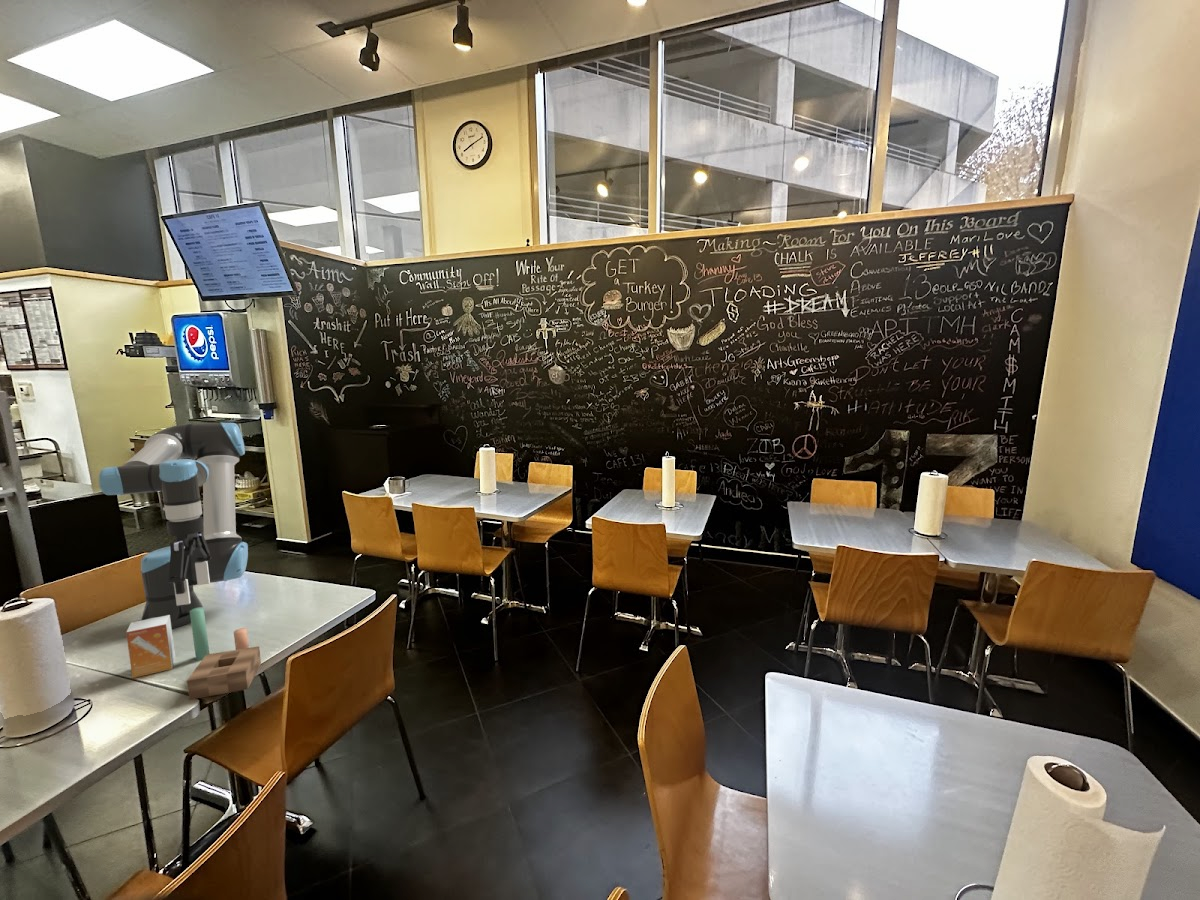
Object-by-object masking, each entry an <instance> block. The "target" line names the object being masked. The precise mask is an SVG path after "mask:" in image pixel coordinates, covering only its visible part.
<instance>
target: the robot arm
mask: <svg viewBox="0 0 1200 900" xmlns="http://www.w3.org/2000/svg"><path fill="white" fill-rule="evenodd" d="M245 448H246V447H245V442H244V439H243V435H242V432H241V428H240V427H239V425H238V424H237V423H235V422H222V421H221V422H207V423H182V424H176V425H172V426H169V427H167V428H164V429H162V430H159V431H157V432H155V433H154V434H152V435H150V436H149V437H148V438H147V439H146V441H145V442H144V445H143V447H142V448H141V449H140V450H139V451H138V452H136V453H135V454H134V455H133V456H132V457H131V458H130V459H128V460H127V461H126V462H125V463H123V465H120V466H117V465H114V466H109V467H104V468H102V469H101V470H100V471H99V475H98V485H99V488H100V491H101V492H102V493H103V494H104V495H106V496H125V495H134V494H144V493H145V494H146V493H155V492H156V493H157V492H162V499H163V508H162V511H164V513H165V515H164V516H165V519H166V520H167V521H166V523H165V524H166V530H167V535H168V536H172V537H176V539H175V542H171V543H170V545H168V546H164V547H162V548H161V547H160V548H158V549H154V550H153V551H151V552H149V553H147V554H145V555H144V556H143V557H142V558H141V560H140V573H141V576H142V577H141V578H142V585H143V590H144V591H143V592H144V596H145V597H144V598H145V605H144V608H143V611H142V615H141V619H140V621H141V620H146V619H150V618H156V617H161V616H166V615H170V621H171V628H172V629H175V628H179V627H182V626H185V625H188V624H191V618H190V610H192V609H194V608H199V607H203V604H202V602H201V601H200V599H199V598H198V596H197V593H195V591H194V586H201V585H209V584H212V583H219V582H228V581H231V580H236V579H239V578H241V577H242V576H244V574H245V572H246V569H247V564H248V560H249V551H248V550H249V546H248V543H247V542H244V541H242V539H243V538H242V537H241V536H240V535H239V534H238V533H237V531H236V530H237V528H236V526H237V522H236V518H237V517H236V485H235V483H236V481H235V479H236V478H235V466H236V464H237V463H239V462H240V457H241V456H243V455H245V453H246V449H245ZM200 487H203V488H202V491H203V492H202V494H203V495H202V496H203V497H202V499H203V500H202V501H201V496H200ZM202 504H203V505H202ZM202 506H203V509H202ZM202 515H203V516H202ZM203 608H204V607H203Z"/></svg>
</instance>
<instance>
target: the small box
mask: <svg viewBox="0 0 1200 900" xmlns="http://www.w3.org/2000/svg"><path fill="white" fill-rule="evenodd" d="M172 629H173V628H171V621H170V615H166V616H161V617H156V618H150V619H146V620H141V619H140V620H137V621H131V622H130V624H129V626H128V628H127V630H126V632H125V633H126V643H127V648H128V649H127V650H128V656H129V662H130V664H129V665H130V670H131V677H132V679H136V678H139V677H143V676H146V675H147V676H148V675H152V674H155V673H160V672H163V671H169V670H173V666H174V664H175V660H176V651H175V643H174V637H173V630H172Z"/></svg>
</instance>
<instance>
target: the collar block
mask: <svg viewBox="0 0 1200 900" xmlns="http://www.w3.org/2000/svg"><path fill="white" fill-rule="evenodd" d="M261 664H262V662H261V652H260V646H253V647H249V648H245V649H239V650H236V649H234V650H227V651H222V652H215V653H209V654H207V655H205V656H204V658H203V659H202V660H200V662H199V663H198V665H197V666H196V667H195V669H194V670H193V671H192V673H191V675H190V676H189V677H188V678H187V680H186V685H187V691H188V693H187V694H188V699H189V700H194V699H201V698H205V697H212V696H216V695H222V694H228V693H234V692H239V691H244V690H248V689H249V688H250V687H251V686H250V685H251V683H252V682H253V680H254V677H255V675H256V673H257V672H258V670H259V668H260V667H261Z"/></svg>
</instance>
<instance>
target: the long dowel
mask: <svg viewBox="0 0 1200 900" xmlns="http://www.w3.org/2000/svg"><path fill="white" fill-rule="evenodd" d="M190 618H191V622H190V624H191V625H190V626H191V631H192V632H191V633H192V639H193V646H194V653H195V660H196V661H202V659H203V658H204V656H205V655H207V654H210V648H209V641H208V632H207V625H206V623H207V622H206V616H205V608H204V607H199V608H194V609H192V610H190Z"/></svg>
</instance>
